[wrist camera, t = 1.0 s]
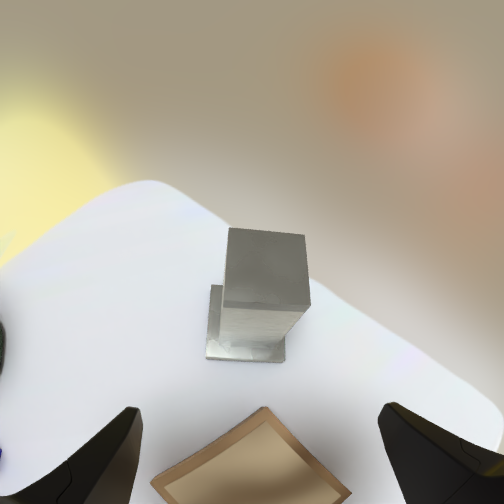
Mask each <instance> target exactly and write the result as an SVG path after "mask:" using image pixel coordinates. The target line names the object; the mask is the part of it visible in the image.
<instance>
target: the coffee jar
mask: <svg viewBox="0 0 504 504" xmlns="http://www.w3.org/2000/svg"><path fill="white" fill-rule="evenodd" d="M2 345H3V341H2V330H1V326H0V362H1V356H2Z"/></svg>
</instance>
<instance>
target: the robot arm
mask: <svg viewBox="0 0 504 504" xmlns="http://www.w3.org/2000/svg"><path fill="white" fill-rule="evenodd" d="M378 425H379V429H380V432H381V436H382V439H383V443H384V446H385V450H386V453H387V455H388V458H389V460H390V463H391V465H392V468H393V470H394V473H395V476H396V478H397V481H398V483H399V486H400V488H401V491H402V494H403V496H404V499H405V502H406V504H504V455H502V454H499V453H496V452H493V451H490V450H487V449H485V448H482V447H480V446H477V445H475V444H472V443H470V442H468V441H466V440H464V439H462V438H459V437H458V436H456V435H454V434H452V433H451V432H449V431H447V430H445V429H443V428H441V427H439V426H437V425H435V424H434V423H432V422H430V421H428V420H426V419H424V418H423V417H421V416H419V415H417V414H415V413H414V412H412V411H410V410H408V409H407V408H405V407H403V406H401V405H400V404H398V403H396V402H390V403H386V404H385V405H384V406H383V408H382V410H381V412H380V414H379V416H378ZM142 431H143V422H142V417H141V413H140V410H139V408H135V407H126V408H125V409H124V410H123V411H122V412H121V413H120V414H119V415H117V416H116V417H115V418H114V419H113V420H112V421H111V422H109V423H108V424H107V425H106V426H105V427H104V428H103V429H102V430H100V431H99V432H98V433H97V434H96V435H95V436H94V437H92V438H91V439H90V440H89V441H88V442H87V443H85V444H84V445H83V446H82V447H81V448H80V449H78V450H77V451H76V452H75V453H74V454H73V455H71V456H70V457H69V458H68V459H67V460H65V461H64V462H63V463H62V464H61V465H59V466H58V467H57V468H56V469H54V470H53V471H52V472H50V473H49V474H47V475H46V476H44V477H43V478H41V479H40V480H38V481H36V482H35V483H33V484H31V485H30V486H28V487H26V488H24V489H23V490H21V491H19V492H17V493H15V494H12V495H9V496H0V504H129V501H130V496H131V492H132V488H133V484H134V480H135V476H136V472H137V468H138V463H139V455H140V447H141V439H142Z"/></svg>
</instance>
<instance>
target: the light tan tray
mask: <svg viewBox="0 0 504 504" xmlns="http://www.w3.org/2000/svg"><path fill="white" fill-rule="evenodd" d="M150 484H151V485H152V486H153V487H154V489H155V490H156V491H157V492H158V493H159V494H160V495H161V496H162V498H163V499H164V500H165V501H166V502H167V503H168V504H341V503H342V502H343V501H344V500H345V499H347V498H348V497H349V496H350V495H351V494H352V492H350V491H349V490H348V489H347V488H346V487H345V486H344V485H343V484H342V483H341V482H339V481H338V480H337V479H336V478H335V477H334V476H333V475H332V474H331V473H330V472H329V471H328V470H327V469H326V468H325V467H324V466H323V465H322V464H321V463H320V462H319V461H318V460H317V459H316V458H315V457H314V456H313V455H312V454H311V453H310V452H309V451H308V450H307V449H306V448H305V447H304V446H303V445H302V444H301V443H300V442H299V441H298V440H297V439H296V438H295V437H294V436H293V435H292V434H291V433H290V432H289V430H288V429H287V428H286V427H285V426H284V425H283V424H282V423H281V422H280V421H279V420H278V418H277V417H276V416H275V415H274V414H273V413H272V412H271V411H270V410H269V408H268V407H261V408H260V409H258V410H257V411H256V412H254V413H253V414H252V415H250V416H249V417H248V418H246V419H245V420H244V421H242V422H241V423H239V424H238V425H237V426H235V427H234V428H232V429H231V430H230V431H228V432H227V433H225V434H224V435H222V436H221V437H219V438H218V439H216V440H215V441H213V442H212V443H210V444H209V445H207V446H206V447H204V448H203V449H201V450H200V451H198V452H196V453H195V454H193V455H192V456H190V457H188V458H187V459H185V460H183V461H182V462H180V463H178V464H177V465H175V466H173V467H171V468H170V469H168V470H166V471H164V472H162V473H161V474H159V475H157V476H155V477H154V478H153V479H152V481H151V482H150Z"/></svg>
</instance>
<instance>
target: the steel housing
mask: <svg viewBox="0 0 504 504" xmlns="http://www.w3.org/2000/svg"><path fill="white" fill-rule="evenodd" d="M310 306H311V302H310V288H309V276H308V265H307V254H306V244H305V236H304V235H301V234H290V233H281V232H271V231H261V230H251V229H240V228H229V231H228V240H227V250H226V259H225V269H224V279H223V285H211V294H210V305H209V317H208V330H207V343H206V359H211V360H224V361H241V362H266V363H282V362H284V361H285V335H286V334H287V333H288V331H289V330H290V329H291V328H292V327H293V326H294V325H295V323H296V322H297V321H298V320H299V319H300V318H301V316H302V315H303V314H304V313H305V312H306V311H307V309H308V308H309V307H310Z"/></svg>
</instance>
